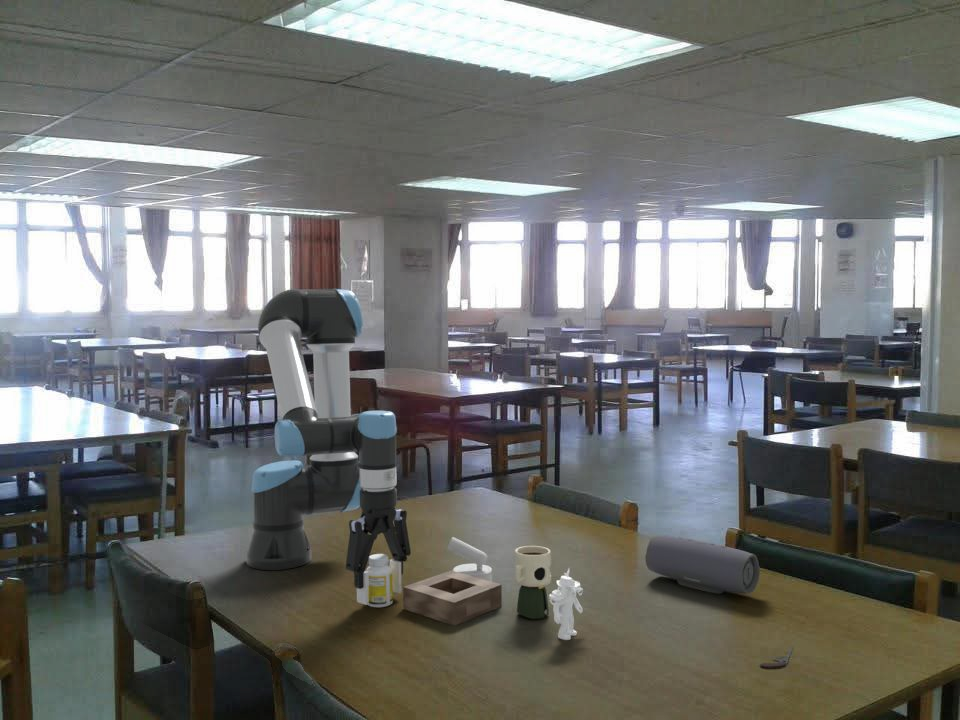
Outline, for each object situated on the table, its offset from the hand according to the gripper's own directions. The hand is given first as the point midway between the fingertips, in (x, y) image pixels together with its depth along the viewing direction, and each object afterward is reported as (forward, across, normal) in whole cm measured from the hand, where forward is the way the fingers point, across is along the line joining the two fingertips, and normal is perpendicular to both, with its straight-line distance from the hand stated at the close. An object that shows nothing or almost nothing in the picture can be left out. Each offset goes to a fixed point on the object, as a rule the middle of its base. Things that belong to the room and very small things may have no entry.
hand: (379, 597), depth 177 cm
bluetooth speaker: (+2, +52, -45) cm, 69 cm away
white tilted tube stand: (+2, +23, -4) cm, 23 cm away
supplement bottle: (+2, 0, 0) cm, 2 cm away
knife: (+2, +28, -72) cm, 77 cm away
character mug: (+2, +15, -28) cm, 32 cm away
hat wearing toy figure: (+2, +11, -39) cm, 41 cm away
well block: (+1, +8, -13) cm, 15 cm away
